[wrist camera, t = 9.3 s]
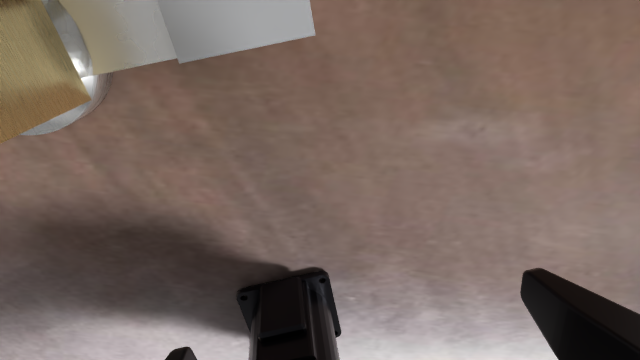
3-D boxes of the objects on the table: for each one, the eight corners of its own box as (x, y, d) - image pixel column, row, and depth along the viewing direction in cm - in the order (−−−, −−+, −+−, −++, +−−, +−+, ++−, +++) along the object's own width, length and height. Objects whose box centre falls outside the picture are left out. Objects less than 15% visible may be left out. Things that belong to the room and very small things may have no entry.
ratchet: (1, 135, 17) (-107, 183, 12) (-101, -21, 14) (-302, -40, 9) (316, 69, 18) (332, 90, 13) (287, -99, 14) (292, -155, 10)
